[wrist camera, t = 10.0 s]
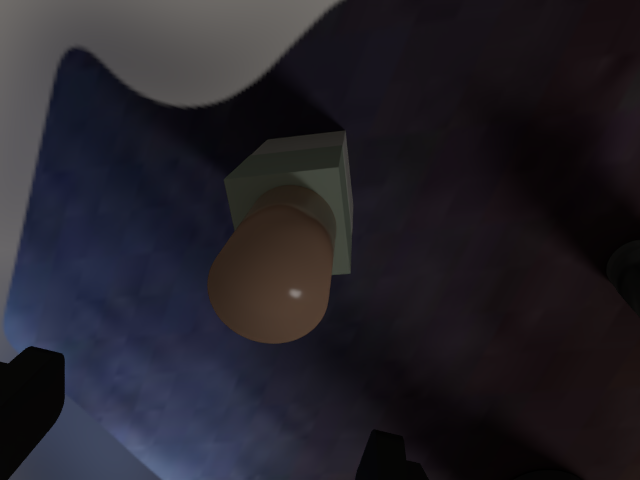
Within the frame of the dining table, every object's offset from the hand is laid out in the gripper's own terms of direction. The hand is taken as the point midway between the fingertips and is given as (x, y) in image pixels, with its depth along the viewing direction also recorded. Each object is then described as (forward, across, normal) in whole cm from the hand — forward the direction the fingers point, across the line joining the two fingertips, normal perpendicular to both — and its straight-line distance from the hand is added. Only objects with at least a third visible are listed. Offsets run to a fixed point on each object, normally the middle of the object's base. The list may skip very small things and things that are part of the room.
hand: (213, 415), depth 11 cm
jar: (+14, 0, 0) cm, 14 cm away
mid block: (+20, 0, 0) cm, 20 cm away
